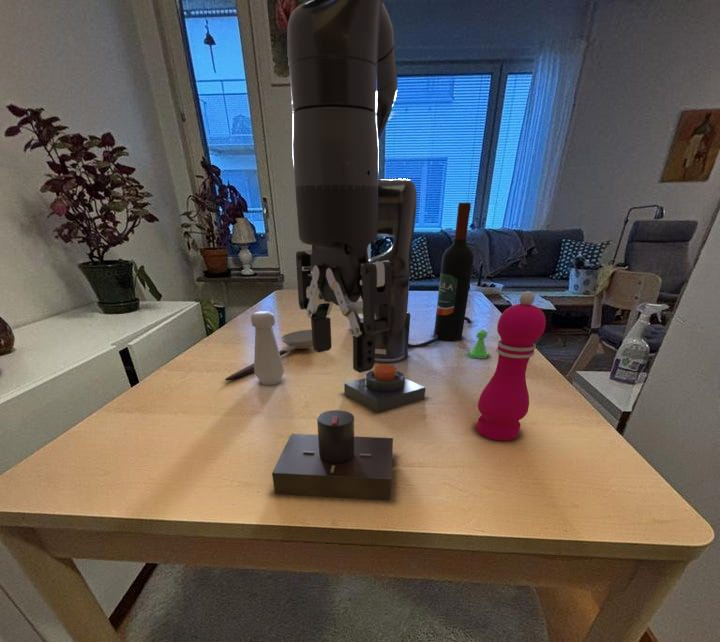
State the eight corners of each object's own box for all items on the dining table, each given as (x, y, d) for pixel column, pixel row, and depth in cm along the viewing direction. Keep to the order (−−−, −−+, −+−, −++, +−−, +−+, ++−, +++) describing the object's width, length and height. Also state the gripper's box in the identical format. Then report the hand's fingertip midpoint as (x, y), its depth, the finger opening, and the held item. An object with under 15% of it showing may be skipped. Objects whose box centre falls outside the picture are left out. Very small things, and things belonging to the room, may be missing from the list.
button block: (390, 382, 79) (391, 362, 76) (424, 398, 72) (426, 377, 70) (344, 394, 73) (343, 373, 71) (376, 413, 67) (377, 390, 64)
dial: (321, 445, 51) (318, 407, 48) (354, 445, 51) (354, 407, 48) (317, 462, 48) (314, 423, 45) (353, 463, 48) (353, 423, 45)
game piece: (491, 356, 93) (496, 330, 90) (479, 359, 91) (483, 332, 88) (477, 352, 96) (481, 326, 93) (465, 355, 94) (469, 328, 91)
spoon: (334, 342, 100) (333, 330, 98) (248, 390, 76) (244, 376, 75) (299, 340, 105) (297, 329, 103) (208, 385, 81) (204, 371, 79)
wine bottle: (464, 341, 104) (485, 202, 87) (435, 340, 104) (451, 202, 87) (458, 333, 110) (477, 203, 93) (431, 333, 110) (445, 203, 94)
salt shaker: (278, 387, 76) (270, 316, 69) (251, 385, 77) (240, 315, 70) (289, 377, 81) (282, 309, 73) (263, 375, 82) (253, 308, 74)
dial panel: (391, 456, 55) (393, 436, 53) (390, 500, 47) (391, 478, 45) (293, 452, 56) (291, 432, 54) (274, 493, 48) (271, 471, 46)
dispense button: (386, 372, 73) (387, 363, 72) (400, 378, 70) (401, 369, 69) (369, 376, 71) (369, 367, 70) (382, 383, 68) (383, 373, 67)
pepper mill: (514, 447, 57) (553, 298, 46) (466, 434, 61) (492, 292, 49) (526, 428, 62) (563, 289, 51) (481, 417, 66) (507, 285, 54)
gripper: (421, 180, 33) (407, 371, 42) (330, 185, 42) (335, 340, 51) (345, 177, 29) (349, 386, 38) (265, 183, 39) (283, 350, 48)
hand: (341, 359), depth 45 cm, fingers open, 8 cm apart
